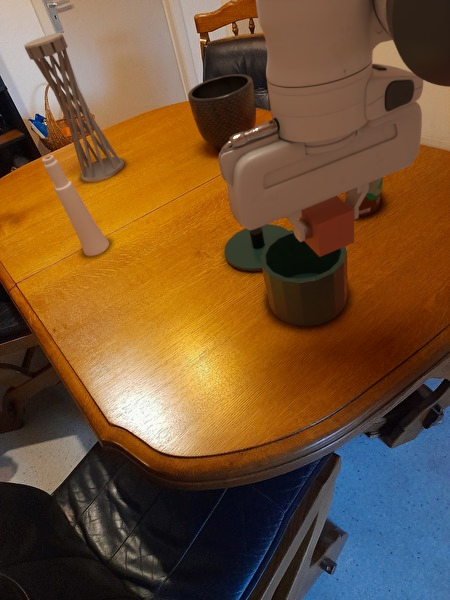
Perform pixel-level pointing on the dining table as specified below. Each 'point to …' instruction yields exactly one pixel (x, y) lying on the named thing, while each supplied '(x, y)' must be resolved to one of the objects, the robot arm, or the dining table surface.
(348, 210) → the block
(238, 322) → the dining table surface
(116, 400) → the dining table surface
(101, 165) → the lattice tower
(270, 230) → the lid
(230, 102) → the planter
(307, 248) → the tin
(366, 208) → the food container
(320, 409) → the dining table surface
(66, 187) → the cosmetic bottle
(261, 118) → the dining table surface
